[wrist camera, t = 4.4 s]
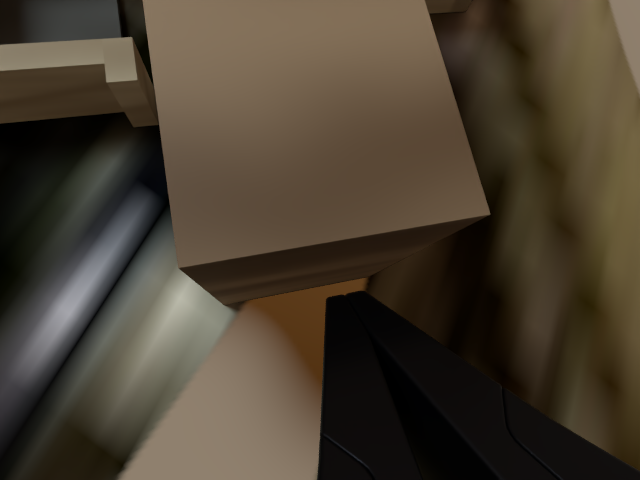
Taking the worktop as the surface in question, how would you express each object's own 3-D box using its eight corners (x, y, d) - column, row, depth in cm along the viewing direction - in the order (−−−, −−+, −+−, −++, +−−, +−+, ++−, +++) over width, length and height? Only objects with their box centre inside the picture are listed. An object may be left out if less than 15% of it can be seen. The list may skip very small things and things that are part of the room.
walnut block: (367, 277, 16) (490, 214, 8) (223, 305, 15) (178, 267, 7) (299, -16, 19) (332, -298, 11) (174, -12, 18) (99, -324, 10)
